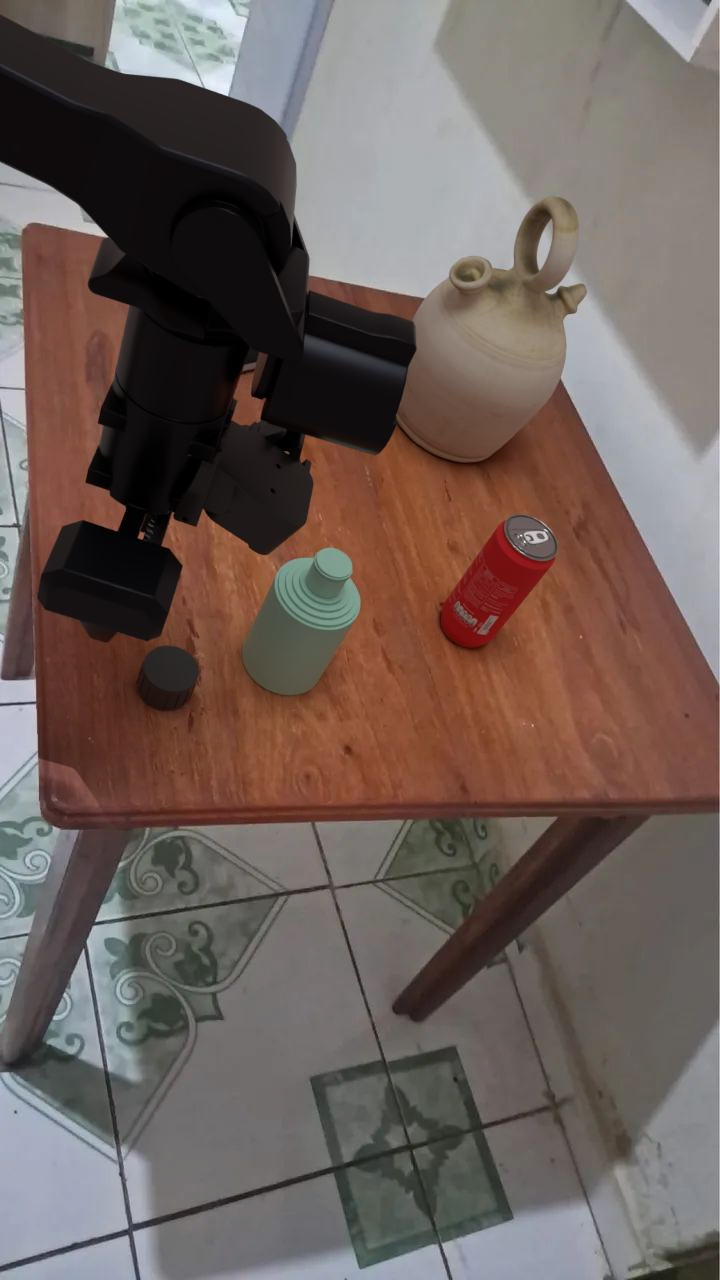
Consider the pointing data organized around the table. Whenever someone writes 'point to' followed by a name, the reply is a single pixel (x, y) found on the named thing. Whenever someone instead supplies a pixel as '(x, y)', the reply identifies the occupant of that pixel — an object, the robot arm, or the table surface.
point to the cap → (167, 677)
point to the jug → (492, 343)
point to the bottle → (302, 622)
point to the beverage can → (498, 580)
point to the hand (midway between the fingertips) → (119, 581)
